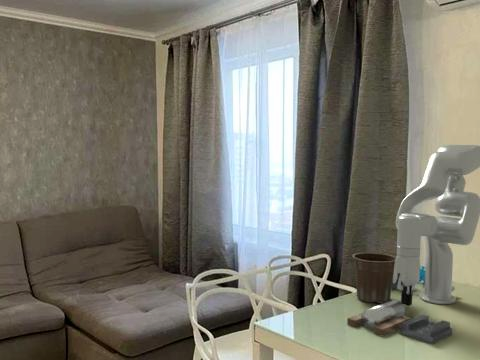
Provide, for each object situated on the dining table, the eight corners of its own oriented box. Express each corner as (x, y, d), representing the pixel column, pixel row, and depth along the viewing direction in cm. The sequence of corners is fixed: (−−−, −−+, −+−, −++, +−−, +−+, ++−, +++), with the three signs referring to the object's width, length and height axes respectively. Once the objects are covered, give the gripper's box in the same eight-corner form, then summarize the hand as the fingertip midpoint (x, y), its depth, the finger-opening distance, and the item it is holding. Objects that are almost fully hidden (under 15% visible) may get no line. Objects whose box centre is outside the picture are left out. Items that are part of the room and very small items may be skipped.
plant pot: (366, 290, 201) (367, 250, 200) (403, 299, 189) (405, 257, 188) (343, 298, 190) (344, 256, 188) (381, 308, 178) (383, 263, 177)
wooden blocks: (375, 313, 172) (376, 307, 172) (410, 324, 163) (410, 318, 162) (347, 324, 162) (347, 318, 162) (382, 335, 152) (382, 329, 152)
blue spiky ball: (422, 284, 204) (411, 263, 210) (413, 291, 207) (402, 271, 214) (441, 284, 209) (429, 264, 215) (431, 292, 213) (420, 271, 219)
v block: (419, 324, 162) (419, 313, 162) (452, 334, 154) (452, 323, 154) (398, 333, 155) (399, 322, 154) (432, 344, 146) (432, 332, 146)
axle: (388, 315, 171) (389, 298, 171) (404, 320, 167) (405, 302, 167) (360, 326, 161) (361, 307, 161) (377, 331, 156) (377, 312, 156)
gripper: (410, 247, 179) (408, 297, 180) (386, 252, 169) (384, 306, 171) (429, 251, 174) (427, 302, 175) (406, 256, 164) (404, 311, 165)
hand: (406, 304), depth 173 cm, fingers closed
